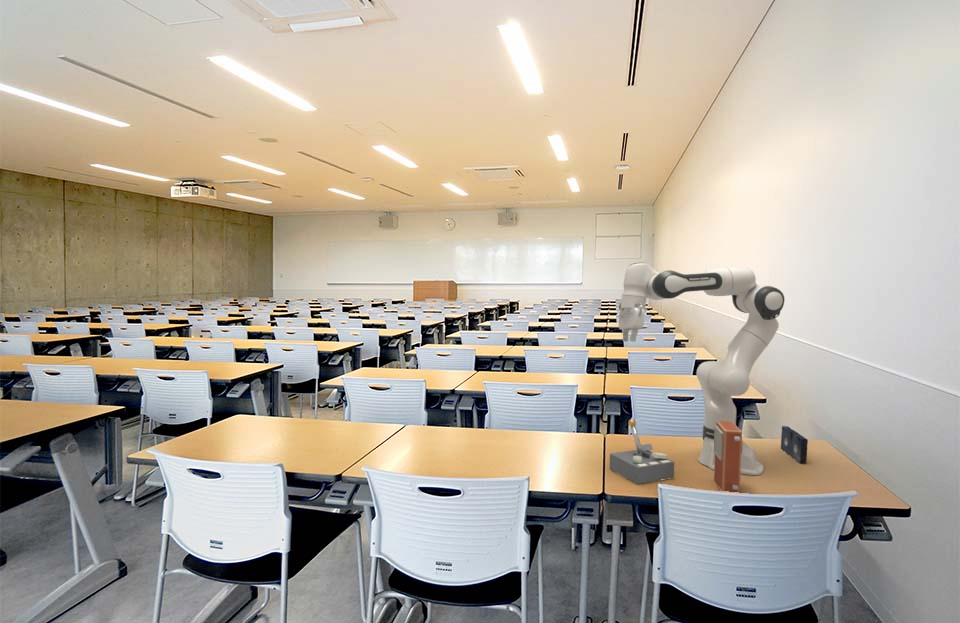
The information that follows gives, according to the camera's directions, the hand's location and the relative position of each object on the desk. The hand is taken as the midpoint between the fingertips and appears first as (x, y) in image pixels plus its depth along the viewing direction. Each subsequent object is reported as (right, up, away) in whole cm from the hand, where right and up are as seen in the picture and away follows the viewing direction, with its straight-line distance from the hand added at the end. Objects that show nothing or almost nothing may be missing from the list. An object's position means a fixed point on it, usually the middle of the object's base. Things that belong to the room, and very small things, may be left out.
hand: (628, 341), depth 199 cm
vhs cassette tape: (+71, -48, +17) cm, 87 cm away
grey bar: (+7, -41, +1) cm, 42 cm away
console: (+3, -48, -4) cm, 48 cm away
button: (0, -42, -10) cm, 44 cm away
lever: (+3, -42, -4) cm, 42 cm away
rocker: (+10, -41, -6) cm, 43 cm away
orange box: (+29, -49, -16) cm, 59 cm away
